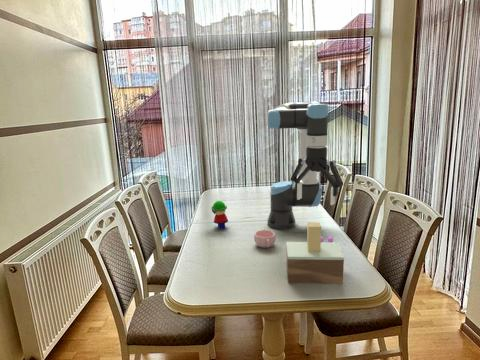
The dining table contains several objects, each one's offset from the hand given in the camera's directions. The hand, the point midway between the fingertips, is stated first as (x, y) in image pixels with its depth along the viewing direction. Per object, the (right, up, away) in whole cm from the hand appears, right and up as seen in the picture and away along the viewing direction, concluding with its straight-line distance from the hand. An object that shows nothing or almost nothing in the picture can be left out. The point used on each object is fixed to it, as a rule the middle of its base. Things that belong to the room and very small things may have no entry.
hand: (315, 201), depth 130 cm
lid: (-1, -20, -1) cm, 21 cm away
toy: (-40, -18, +52) cm, 68 cm away
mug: (-17, -23, +28) cm, 40 cm away
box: (-1, -28, +1) cm, 28 cm away
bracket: (+9, -25, +16) cm, 31 cm away
